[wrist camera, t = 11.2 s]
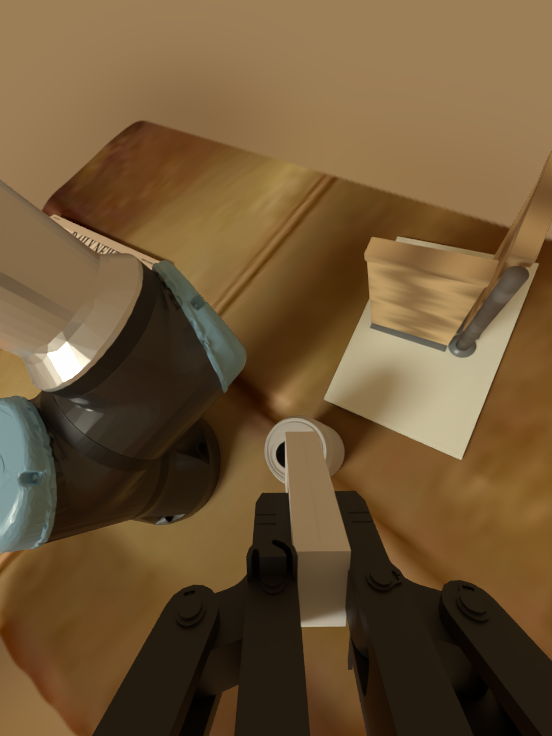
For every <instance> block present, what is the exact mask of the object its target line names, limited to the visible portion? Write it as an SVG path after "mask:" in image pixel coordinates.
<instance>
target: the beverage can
mask: <svg viewBox="0 0 552 736" xmlns="http://www.w3.org/2000/svg"><path fill="white" fill-rule="evenodd" d="M305 431H317V433H318V436H319V440H320V443H321V447H322V450H323V454H324V457H325V461H326V464H327V468H328V472H329V475H330V476H332V475H333V474H335V473H336V472H337V471H338V470H339V468H340V467H341V465H342V463H343V460H344V455H345V450H344V444H343V441H342V439H341V437H340V436H339V435H338V433H337V432H336V431H335V430H333V429H332V428H330V427H328V426H326V425H324V424H322V423H320V422H318V421H317V420H315V419H313V418H310V417H307V416H302V415H295V416H290V417H287V418H285V419H283V420H281V421H280V422H278V423H277V424H276V425H275V426H274V427H273V429H272V430H271V431H270V433H269V434H268V436H267V439H266V442H265V459H266V462H267V465H268V467H269V469H270V470H271V472H272V473H273V474H274V476H275V477H276V478H277V479H278V480H280V481H281V482H283V483H284V484H285V432H305Z"/></svg>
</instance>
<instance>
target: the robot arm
mask: <svg viewBox="0 0 552 736" xmlns="http://www.w3.org/2000/svg"><path fill="white" fill-rule="evenodd" d="M0 349H3V350H5V351H8V352H10V353H13V354H15V355H18V356H20V357H21V359H22V360H23V361H24V363H25V365H26V368H27V370H28V373H29V376H30V378H31V381H32V383H33V385H34V386H35V387H36V388H39V389H41V390H42V391H41V392H40V393H39V394H38V395H37V396H36V397H35V398H33V399H31V400H28V399H26V398H25V397H20V396H12V397H6V398H2V399H1V398H0V553H5V552H11V551H18V550H24V549H34V548H38V547H40V546H42V545H43V544H45V543H49V542H52V541H56V540H59V539H63V538H67V537H70V536H74V535H77V534H81V533H84V532H88V531H92V530H95V529H99V528H102V527H106V526H109V525H113V524H117V523H120V522H123V521H127V520H135V521H140V522H145V523H150V524H155V525H165V524H171V523H175V522H178V521H181V520H183V519H186V518H188V517H190V516H192V515H193V514H195V513H196V512H197V511H199V510H200V509H201V508H202V507H203V506H204V504H205V503H206V502H207V501H208V499H209V498H210V496H211V494H212V492H213V490H214V488H215V486H216V483H217V480H218V475H219V470H220V452H219V447H218V443H217V440H216V437H215V435H214V433H213V431H212V429H211V428H210V426H209V425H208V424H207V423H206V422H205V421H204V420H203V419H202V418H201V416H202V415H203V414H204V413H205V412H206V411H207V410H208V409H209V408H210V407H211V406H212V405H213V404H214V403H215V402H216V401H217V400H218V398H219V397H220V396H221V395H222V394H225V393H226V391H227V390H228V386H229V385H230V384H231V383H232V382H233V380H234V379H235V378H236V377H237V376H238V374H239V373H240V372H241V371H242V370H243V368H244V366H245V364H246V360H247V355H246V350H245V348H244V346H243V345H242V343H241V342H240V341H239V339H238V338H237V337H236V336H235V334H234V333H233V332H232V331H231V329H230V328H229V327H228V326H227V325H226V324H225V322H224V321H223V320H222V319H221V318H220V317H219V315H218V314H217V313H216V312H215V311H214V310H213V309H212V307H211V306H210V305H209V304H208V303H207V302H206V301H205V300H204V299H203V297H202V296H201V295H200V294H199V293H198V292H197V291H196V289H195V288H194V287H193V286H192V284H191V283H190V282H189V281H188V280H187V279H186V278H185V277H184V276H183V275H182V273H181V272H180V271H179V270H178V269H177V268H176V267H175V266H174V265H173V264H172V263H171V262H170V261H168V260H162V261H160V262H159V263H154V264H153V266H152V270H151V269H150V268H148V267H147V266H146V265H145V264H144V263H142V262H141V261H140V260H139V259H138V258H136V257H135V256H134V255H132V254H129V253H112V254H100V253H97V252H95V251H94V250H92V249H91V248H90V247H88V246H87V245H86V244H84V243H83V242H82V241H80V240H79V239H78V238H76V237H75V236H74V235H72V234H71V233H70V232H69V231H67V230H66V229H65V228H63V227H62V226H61V225H59V224H58V223H57V222H55V221H54V220H53V219H51V218H50V217H49V216H48V215H46V214H45V213H44V212H42V211H41V210H39V209H38V208H37V207H36V206H34V205H33V204H32V203H30V202H29V201H28V200H26V199H25V198H24V197H22V196H21V195H20V194H19V193H17V192H16V191H14V190H13V189H12V188H11V187H9V186H8V185H7V184H5V183H4V182H3V181H2V180H0ZM285 487H286V493H262V494H261V496H260V497H259V499H258V500H257V502H256V507H255V520H254V532H253V545H252V546H251V547H250V548H249V550H248V553H247V556H246V560H247V575H246V576H245V577H244V578H243V579H242V581H240V582H239V583H238V584H236V585H235V586H233V587H231V588H229V589H226V590H223V591H220V592H217V593H214V592H213V591H212V590H211V589H210V588H208V587H206V586H204V585H192V586H189V587H186V588H183V589H182V590H180V591H179V592H177V593H176V594H175V595H173V597H172V598H171V599H170V601H169V602H168V603H167V604H166V606H165V608H164V610H163V611H162V613H161V615H160V617H159V618H158V620H157V622H156V624H155V626H154V627H153V629H152V631H151V633H150V634H149V636H148V638H147V640H146V641H145V643H144V645H143V647H142V649H141V650H140V652H139V654H138V656H137V657H136V659H135V661H134V663H133V664H132V666H131V668H130V670H129V672H128V673H127V675H126V677H125V679H124V680H123V682H122V684H121V686H120V687H119V689H118V691H117V693H116V695H115V696H114V698H113V700H112V702H111V703H110V705H109V707H108V709H107V710H106V712H105V714H104V716H103V718H102V719H101V721H100V723H99V725H98V726H97V728H96V730H95V732H94V733H93V735H92V736H209V734H210V731H211V727H212V724H213V721H214V718H215V715H216V711H217V708H218V705H219V702H220V698H221V695H222V692H223V691H225V690H228V689H230V688H232V687H234V686H236V685H238V684H239V688H238V700H237V711H236V723H235V735H234V736H310V729H309V716H308V704H307V692H306V679H305V667H304V655H303V642H302V630H301V627H326V626H345V624H346V615H347V620H348V624H349V629H350V640H349V652H348V670H352V667H353V668H354V673H355V678H356V683H357V688H358V693H359V698H360V703H361V708H362V713H363V718H364V723H365V728H366V733H367V736H552V661H551V660H550V659H549V658H548V657H547V655H546V654H545V653H544V652H543V651H542V650H541V649H540V648H539V647H538V646H537V645H536V644H535V643H534V641H533V640H532V639H531V638H530V637H529V636H528V635H527V634H526V633H525V632H524V631H523V630H522V629H521V627H520V626H519V625H518V624H517V623H516V622H515V621H514V620H513V619H512V618H511V617H510V616H509V615H508V614H507V612H506V611H505V610H504V609H503V608H502V607H501V606H500V605H499V604H498V603H497V602H496V601H495V600H494V599H493V598H492V597H491V596H490V595H489V594H488V593H486V592H485V591H484V590H483V589H481V588H479V587H477V586H476V585H474V584H472V583H468V582H465V581H461V580H457V581H450V582H448V583H446V584H445V585H444V587H443V589H442V591H439V590H436V589H432V588H429V587H425V586H422V585H419V584H416V583H414V582H412V581H410V580H408V579H407V578H405V577H404V576H403V574H402V573H401V571H400V570H399V569H398V568H396V567H395V566H394V565H393V564H392V563H391V562H390V560H389V558H388V556H387V553H386V551H385V548H384V546H383V543H382V541H381V539H380V536H379V534H378V531H377V529H376V526H375V524H374V523H373V519H372V517H371V514H370V513H369V509H368V507H367V504H366V502H365V500H364V499H363V498H362V497H361V496H360V495H359V494H358V493H357V492H356V491H334V489H333V486H332V482H331V479H330V475H329V472H328V468H327V464H326V461H325V457H324V454H323V450H322V447H321V443H320V440H319V436H318V433H317V431H305V432H285Z"/></svg>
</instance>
